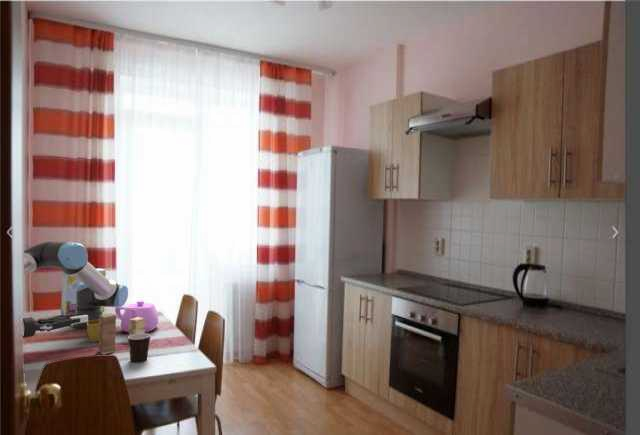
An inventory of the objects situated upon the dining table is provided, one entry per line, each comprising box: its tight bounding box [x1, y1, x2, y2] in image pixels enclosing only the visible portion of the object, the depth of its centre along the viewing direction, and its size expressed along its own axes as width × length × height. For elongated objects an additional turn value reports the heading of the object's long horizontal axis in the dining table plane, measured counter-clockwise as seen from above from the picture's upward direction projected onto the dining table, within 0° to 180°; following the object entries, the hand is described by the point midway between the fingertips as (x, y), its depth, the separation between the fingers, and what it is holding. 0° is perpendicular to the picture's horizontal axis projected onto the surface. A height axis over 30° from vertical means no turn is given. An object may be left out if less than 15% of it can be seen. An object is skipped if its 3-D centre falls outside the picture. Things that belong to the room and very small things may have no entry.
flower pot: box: [86, 320, 99, 343], centre depth 202 cm, size 9×9×9 cm
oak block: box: [128, 317, 146, 336], centre depth 205 cm, size 5×5×10 cm
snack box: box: [60, 268, 107, 318], centre depth 251 cm, size 22×9×26 cm, turn 141°
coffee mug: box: [127, 332, 151, 364], centre depth 176 cm, size 12×9×10 cm
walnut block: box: [98, 312, 117, 355], centre depth 187 cm, size 5×5×16 cm
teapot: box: [114, 300, 159, 334], centre depth 217 cm, size 23×21×15 cm
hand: (87, 318), depth 180 cm, fingers closed
